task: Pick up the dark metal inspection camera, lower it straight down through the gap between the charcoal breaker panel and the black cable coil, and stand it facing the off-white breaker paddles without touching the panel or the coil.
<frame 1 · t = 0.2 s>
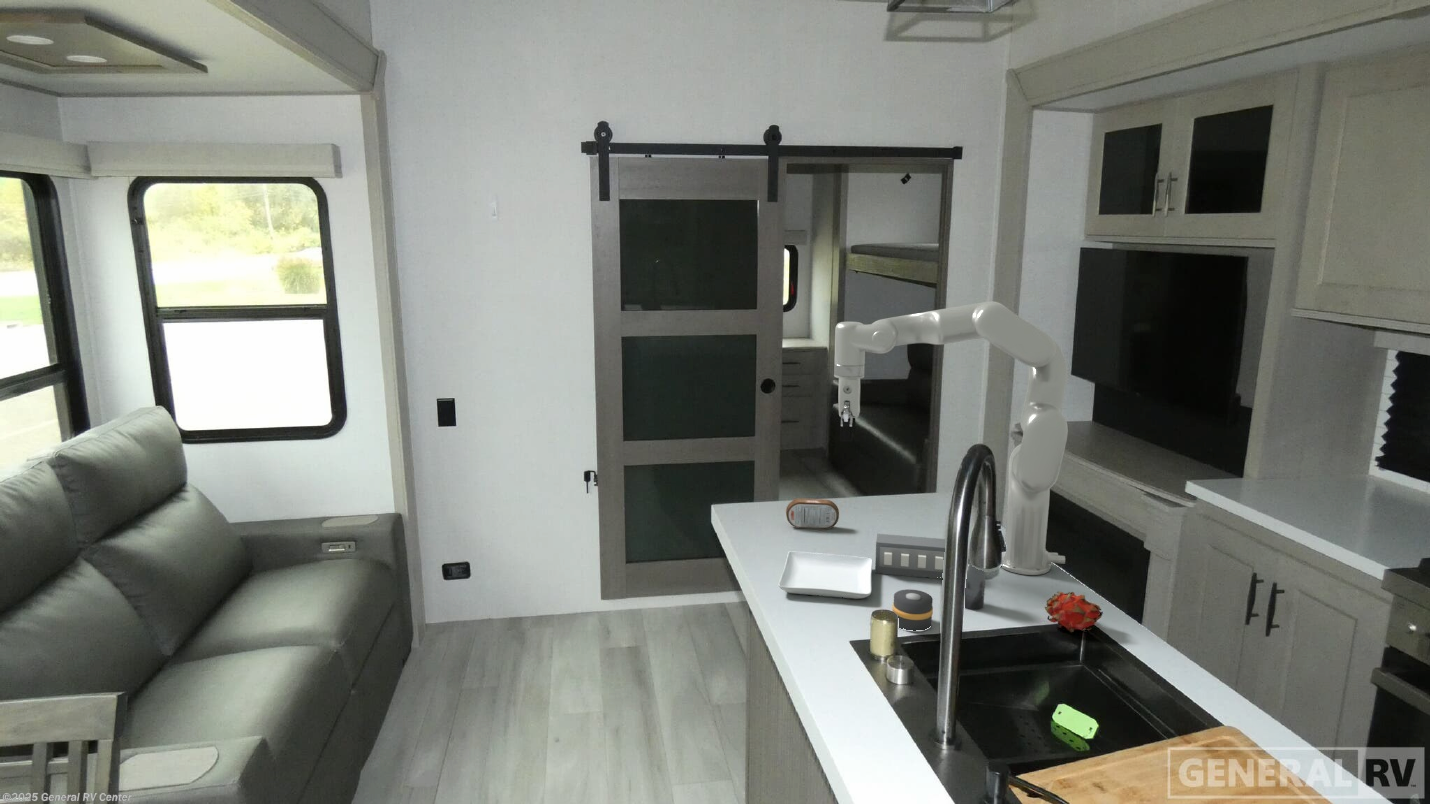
hand: (847, 436, 206), 31 cm above the worktop, tool pointing down, fingers open, 9 cm apart
dragon fruit: (1072, 628, 170), on the worktop
breaker panel: (912, 571, 199), on the worktop
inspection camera: (971, 605, 180), on the worktop
salad plate: (826, 584, 193), on the worktop
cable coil: (911, 623, 172), on the worktop
tin: (812, 528, 229), on the worktop
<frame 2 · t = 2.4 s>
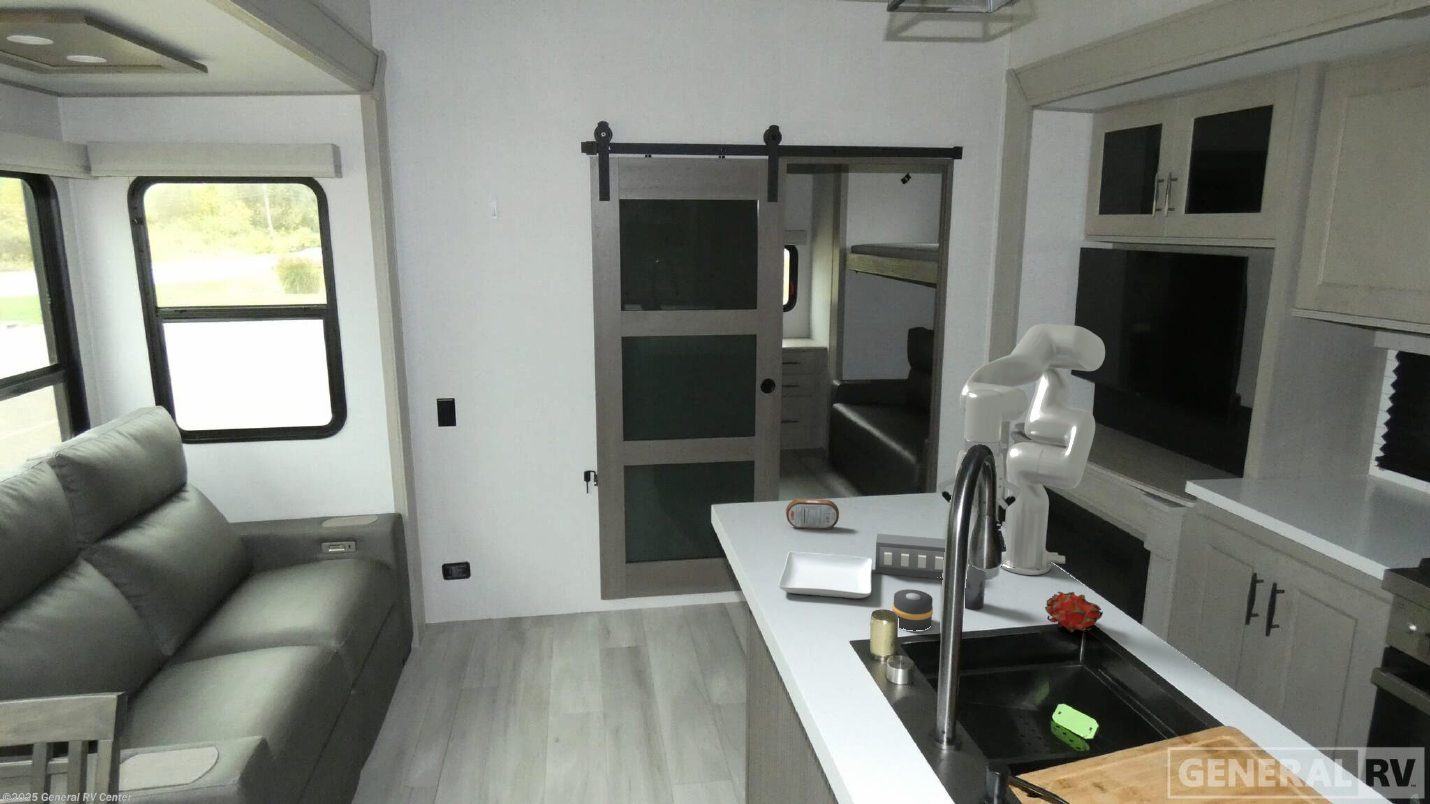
hand: (976, 522, 176), 20 cm above the worktop, tool pointing down, fingers open, 9 cm apart
nothing on the worktop moved.
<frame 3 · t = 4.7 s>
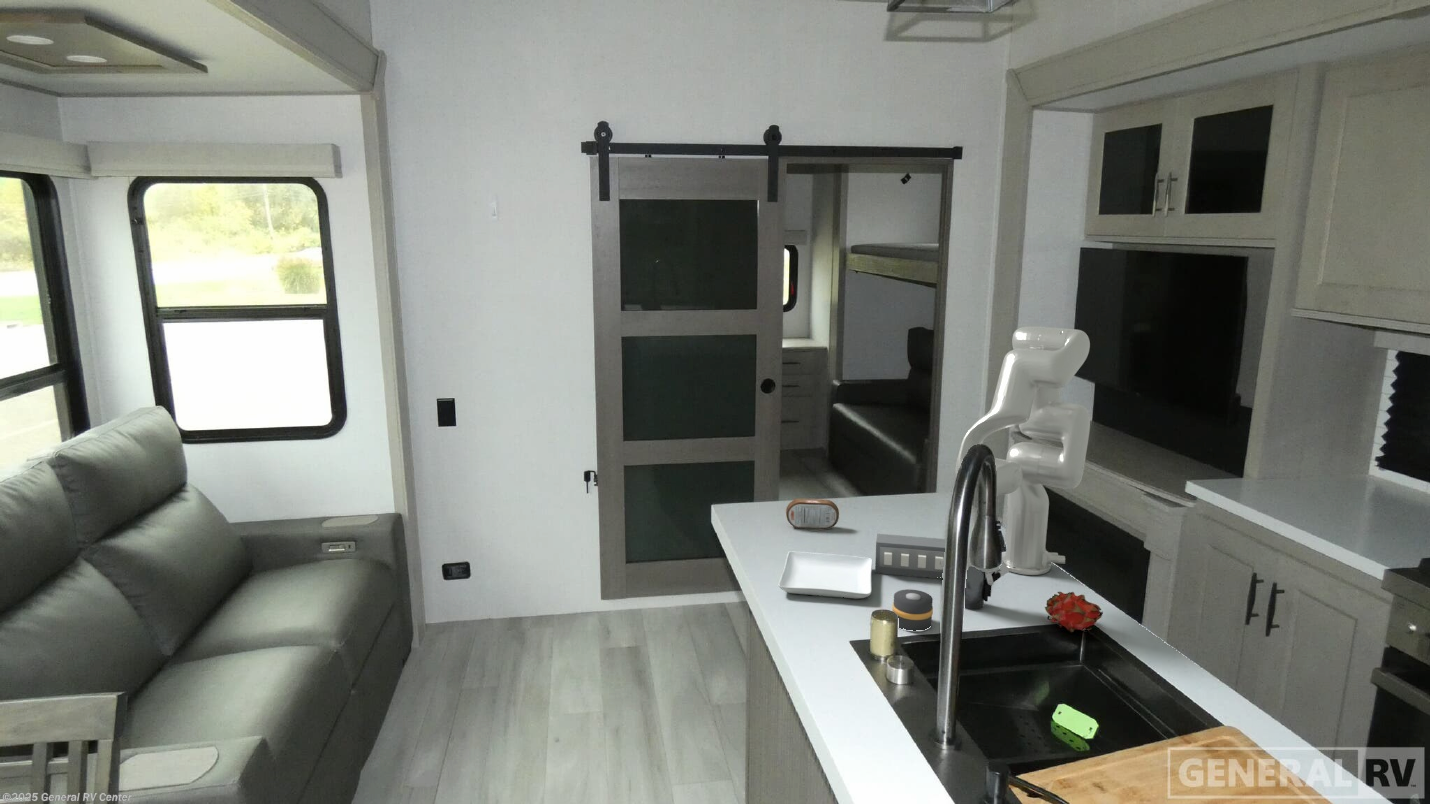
hand: (972, 596, 180), 2 cm above the worktop, tool pointing down, fingers closed on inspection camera, 5 cm apart
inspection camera: (971, 605, 180), on the worktop, touching gripper
everything else where it was.
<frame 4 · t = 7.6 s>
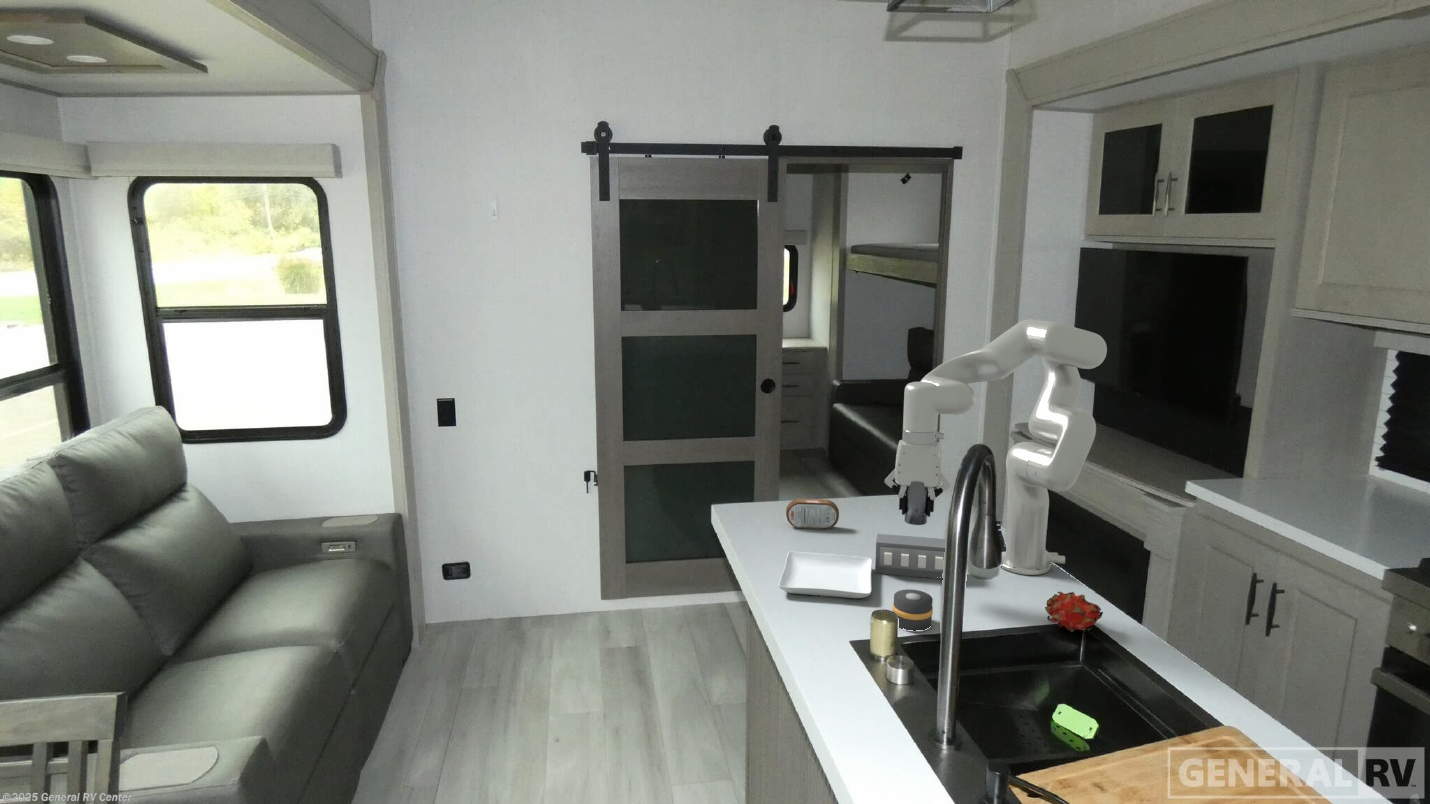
hand: (915, 513, 184), 19 cm above the worktop, tool pointing down, fingers closed on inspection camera, 5 cm apart
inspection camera: (915, 521, 185), point 17 cm above the worktop, touching gripper
everything else where it was.
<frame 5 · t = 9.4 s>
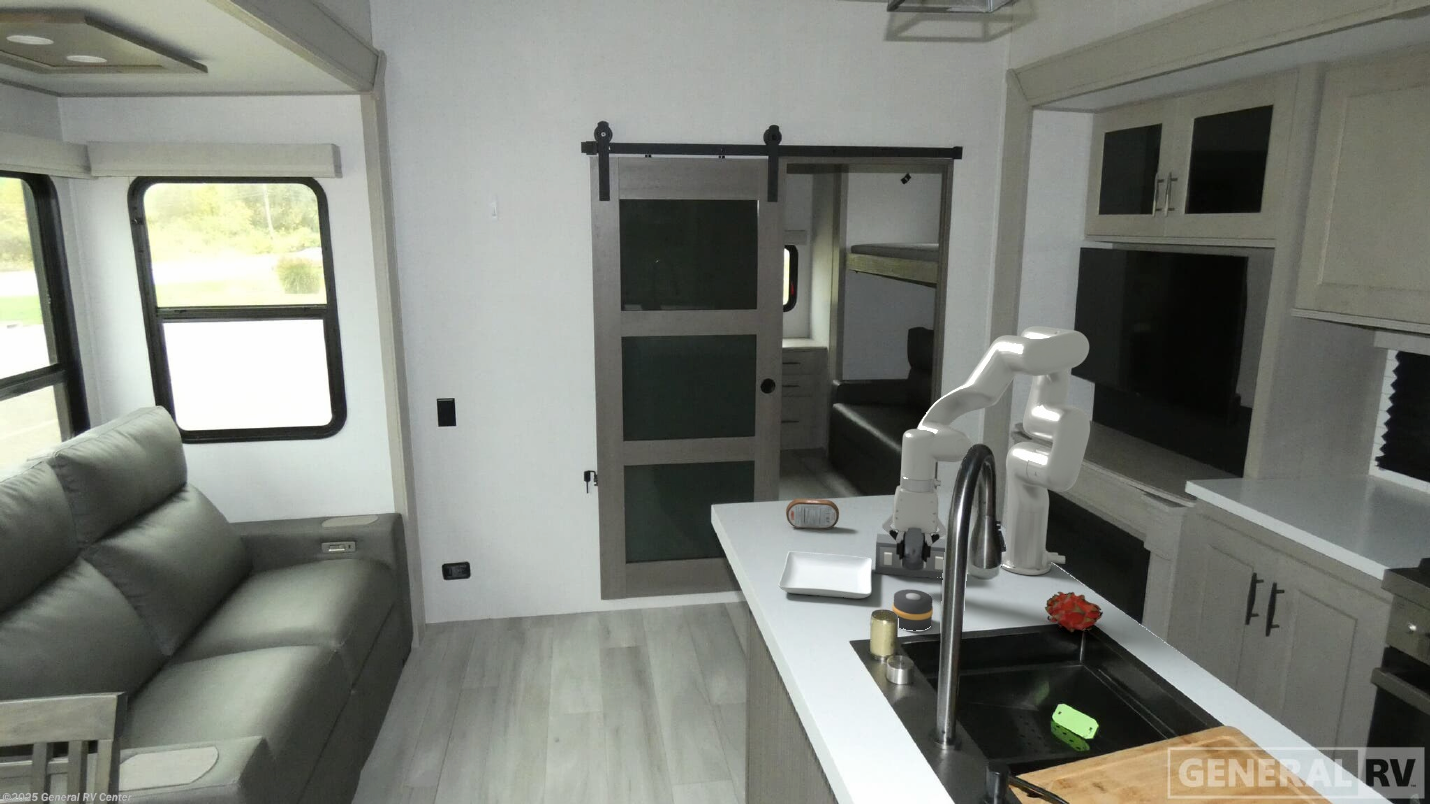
hand: (912, 558, 186), 8 cm above the worktop, tool pointing down, fingers closed on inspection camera, 5 cm apart
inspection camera: (912, 566, 187), point 6 cm above the worktop, touching gripper
everything else where it was.
when the fingers open (3 cm above the worktop, at t = 10.9 s): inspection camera stays where it is, on the worktop.
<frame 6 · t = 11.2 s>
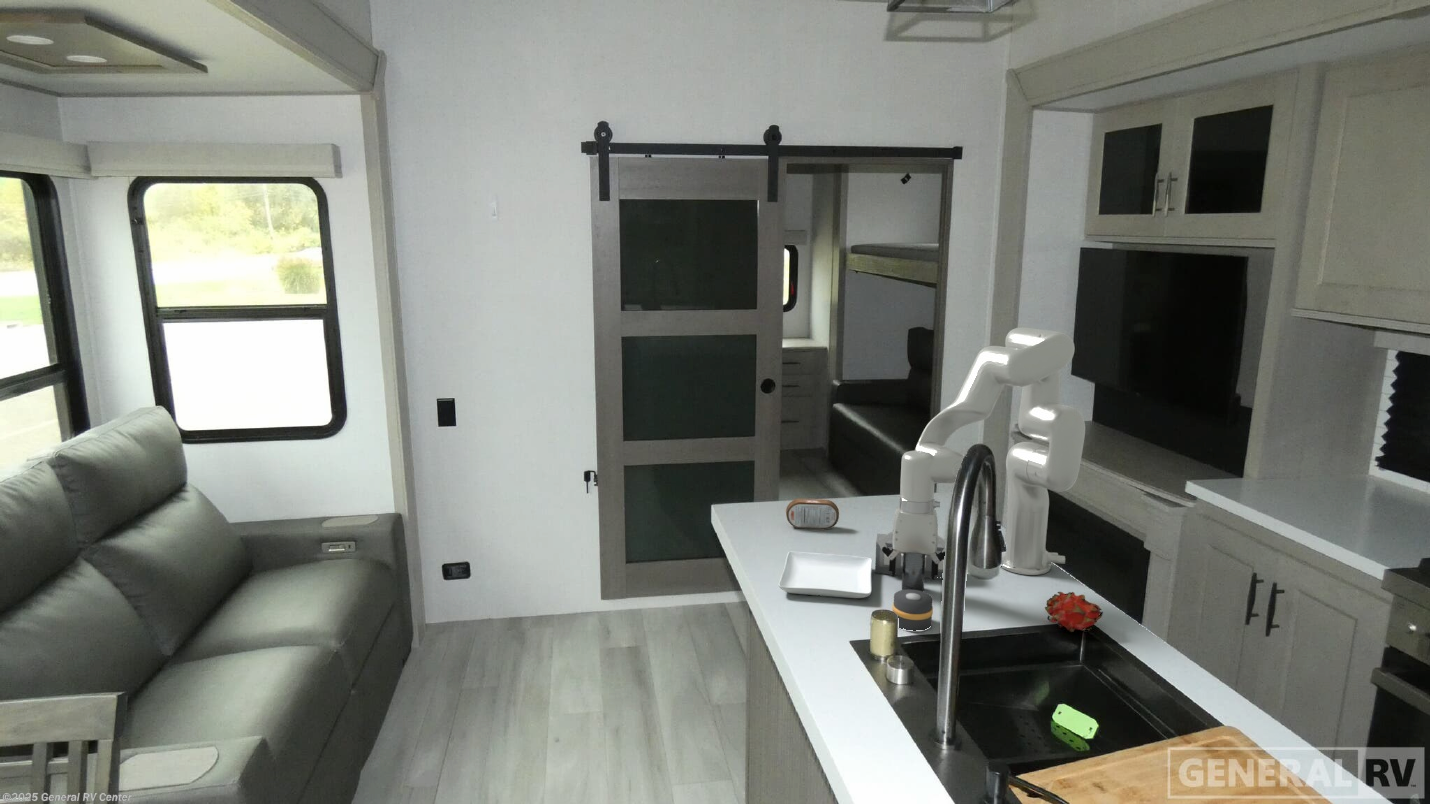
hand: (913, 575, 187), 4 cm above the worktop, tool pointing down, fingers open, 8 cm apart
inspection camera: (912, 590, 188), on the worktop
everything else where it was.
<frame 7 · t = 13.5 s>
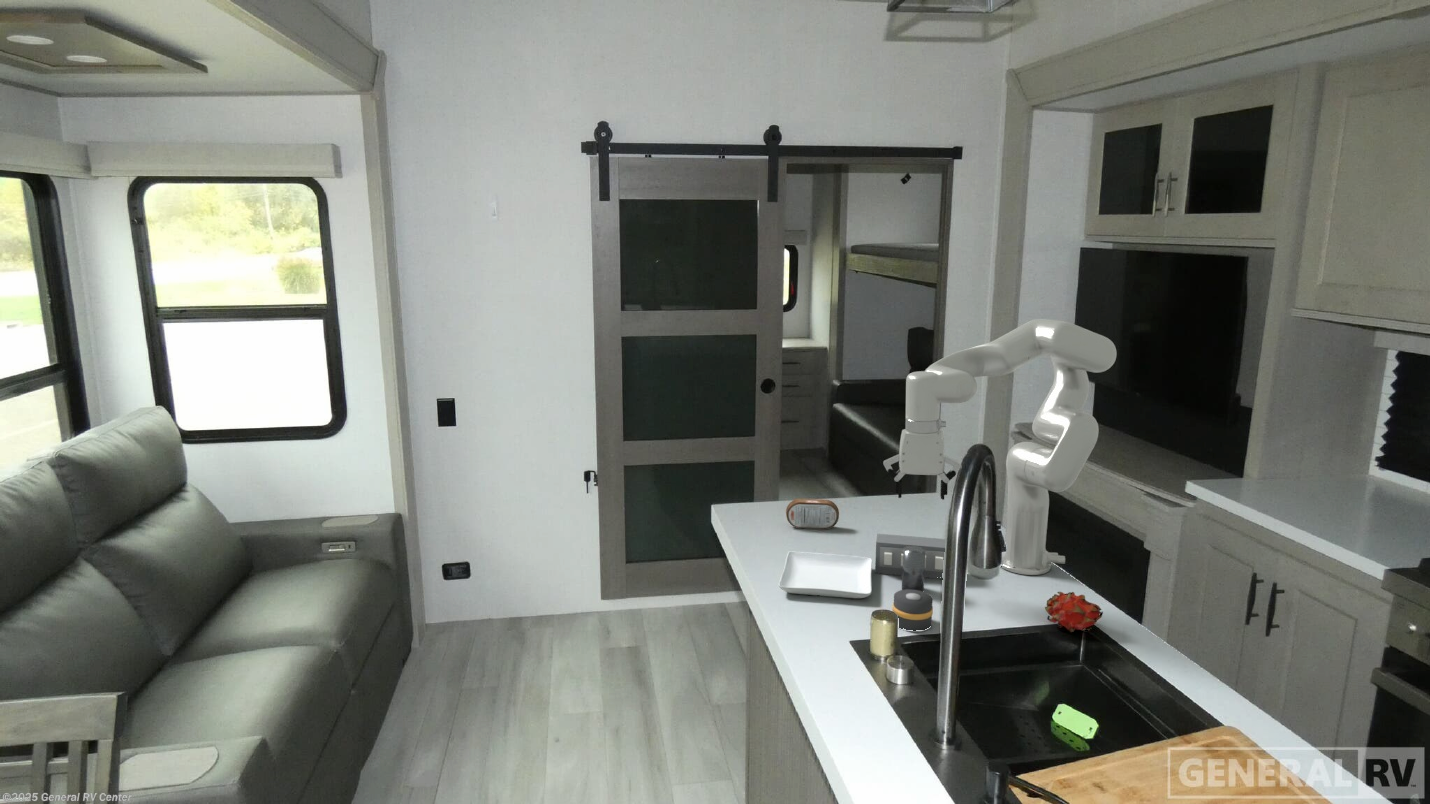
hand: (920, 496, 187), 22 cm above the worktop, tool pointing down, fingers open, 9 cm apart
nothing on the worktop moved.
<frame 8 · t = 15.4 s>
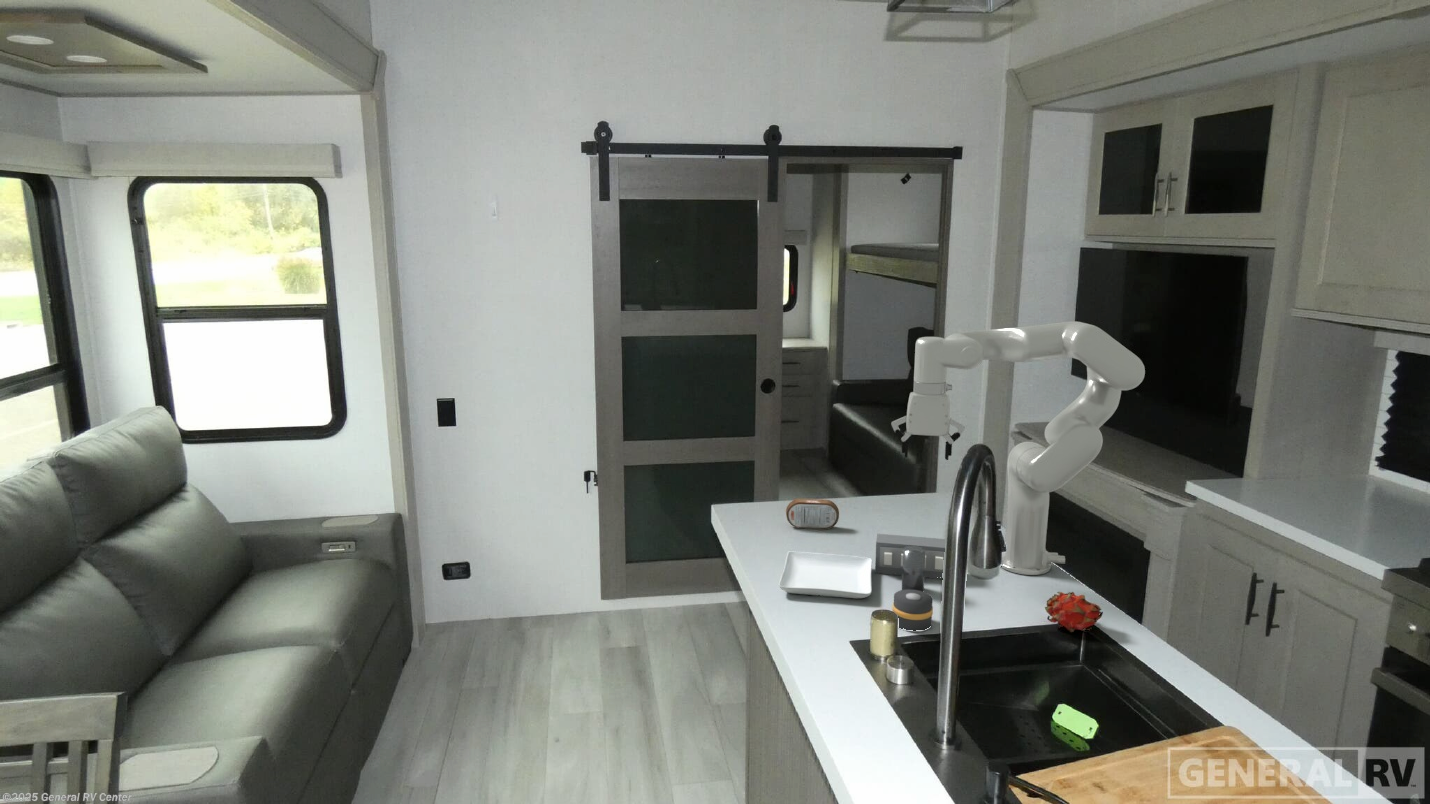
hand: (926, 457, 196), 28 cm above the worktop, tool pointing down, fingers open, 9 cm apart
nothing on the worktop moved.
at the end: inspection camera 0.3 cm from the target spot, on the worktop; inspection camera tilted 0°; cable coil moved 0.1 cm from its start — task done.
